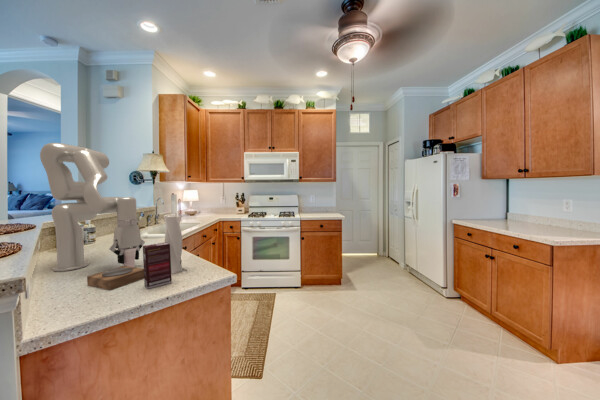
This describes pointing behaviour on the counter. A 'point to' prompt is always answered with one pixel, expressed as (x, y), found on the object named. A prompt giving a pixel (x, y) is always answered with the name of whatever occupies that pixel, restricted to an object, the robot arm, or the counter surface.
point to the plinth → (115, 277)
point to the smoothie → (129, 256)
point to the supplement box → (157, 265)
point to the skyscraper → (174, 241)
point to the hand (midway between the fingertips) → (128, 260)
